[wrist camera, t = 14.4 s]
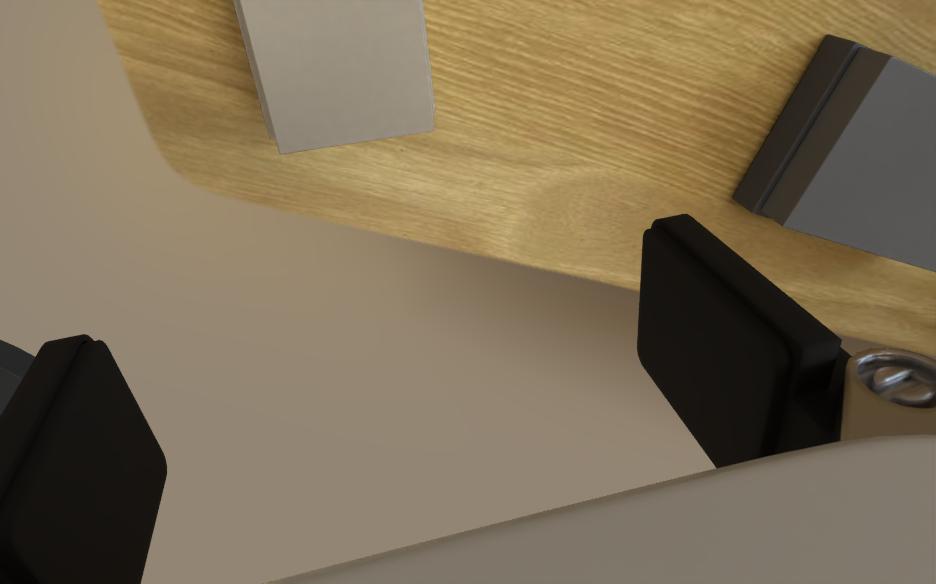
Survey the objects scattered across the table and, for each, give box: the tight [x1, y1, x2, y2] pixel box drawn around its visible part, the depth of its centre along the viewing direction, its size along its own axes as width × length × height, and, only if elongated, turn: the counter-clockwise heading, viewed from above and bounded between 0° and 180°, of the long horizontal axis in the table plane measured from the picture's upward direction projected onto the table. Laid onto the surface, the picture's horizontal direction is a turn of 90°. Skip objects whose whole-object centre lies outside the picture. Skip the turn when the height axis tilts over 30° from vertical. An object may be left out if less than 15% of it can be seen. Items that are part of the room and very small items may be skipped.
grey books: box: [733, 35, 936, 272], centre depth 37 cm, size 15×10×4 cm, turn 70°
